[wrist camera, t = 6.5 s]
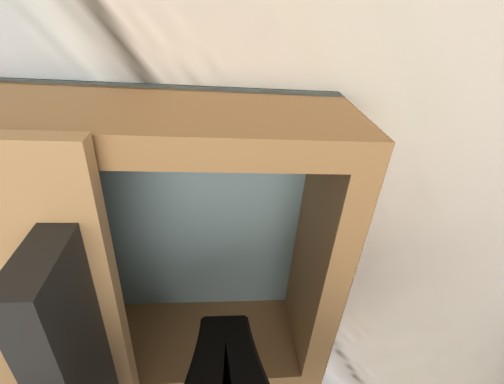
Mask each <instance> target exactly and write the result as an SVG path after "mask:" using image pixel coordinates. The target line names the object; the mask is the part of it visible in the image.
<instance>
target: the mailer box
mask: <svg viewBox="0 0 504 384" xmlns="http://www.w3.org/2000/svg"><path fill="white" fill-rule="evenodd" d="M0 129H12V130H49V131H86V132H91V135H92V140H93V145H94V151H95V156H96V161H97V166H98V171H99V176H100V182H101V187H102V192H103V197H104V202H105V207H106V213H107V218H108V223H109V228H110V233H111V238H112V244H113V249H114V254H115V259H116V264H117V269H118V275H119V280H120V285H121V290H122V295H123V300H124V306H125V311H126V316H127V321H128V326H129V331H130V337H131V342H132V347H133V352H134V357H135V362H136V368H137V373H138V378H139V383H140V384H184V382H185V379H186V376H187V373H188V370H189V367H190V364H191V361H192V358H193V354H194V351H195V347H196V343H197V339H198V334H199V329H200V321H201V318H203V317H204V316H233V315H245V316H246V317H248V320H249V325H250V329H251V333H252V336H253V340H254V343H255V346H256V349H257V352H258V354H259V357H260V360H261V363H262V365H263V368H264V371H265V373H266V375H267V378H268V380H269V383H270V384H321V383H322V380H323V376H324V373H325V370H326V367H327V363H328V360H329V357H330V354H331V350H332V347H333V344H334V341H335V337H336V334H337V331H338V327H339V324H340V321H341V318H342V314H343V311H344V308H345V305H346V301H347V298H348V295H349V291H350V288H351V285H352V282H353V278H354V275H355V272H356V269H357V265H358V262H359V259H360V256H361V252H362V249H363V246H364V242H365V239H366V236H367V233H368V229H369V226H370V223H371V220H372V216H373V213H374V210H375V207H376V203H377V200H378V197H379V193H380V190H381V187H382V184H383V180H384V177H385V174H386V171H387V167H388V164H389V161H390V157H391V154H392V151H393V148H394V144H395V142H394V141H393V140H392V139H391V138H389V137H388V136H387V135H386V134H385V133H384V132H383V131H382V130H381V129H379V128H378V127H377V126H376V125H375V124H374V123H373V122H372V121H371V120H369V119H368V118H367V117H366V116H365V115H364V114H363V113H362V112H361V111H359V110H358V109H357V108H356V107H355V106H354V105H353V104H352V103H351V102H349V101H348V100H347V99H346V98H345V97H344V96H343V95H342V94H341V93H339V92H332V91H308V90H285V89H261V88H237V87H214V86H190V85H167V84H143V83H120V82H96V81H73V80H49V79H25V78H2V77H0Z"/></svg>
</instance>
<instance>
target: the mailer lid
mask: <svg viewBox="0 0 504 384" xmlns="http://www.w3.org/2000/svg"><path fill="white" fill-rule="evenodd" d="M0 384H140V383H139V378H138V373H137V368H136V362H135V357H134V352H133V347H132V342H131V337H130V331H129V326H128V321H127V316H126V311H125V306H124V300H123V295H122V290H121V285H120V280H119V275H118V269H117V264H116V259H115V254H114V249H113V244H112V238H111V233H110V228H109V223H108V218H107V213H106V207H105V202H104V197H103V192H102V187H101V182H100V176H99V171H98V166H97V161H96V156H95V151H94V145H93V140H92V135H91V132H86V131H49V130H12V129H0Z"/></svg>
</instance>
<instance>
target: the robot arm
mask: <svg viewBox="0 0 504 384" xmlns="http://www.w3.org/2000/svg"><path fill="white" fill-rule="evenodd" d="M184 384H270V383H269V380H268V378H267V375H266V373H265V371H264V368H263V365H262V363H261V360H260V357H259V354H258V352H257V349H256V346H255V343H254V340H253V336H252V333H251V329H250V325H249V320H248V317H246V316H245V315H233V316H204V317H203V318H201V321H200V329H199V334H198V339H197V343H196V347H195V351H194V354H193V358H192V361H191V364H190V367H189V370H188V373H187V376H186V379H185V382H184Z"/></svg>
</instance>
